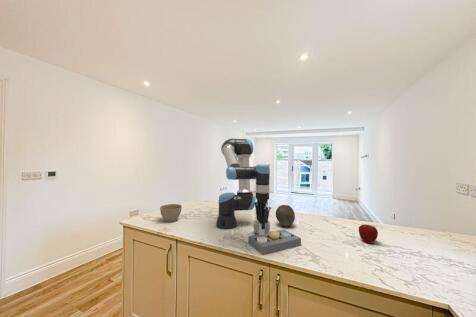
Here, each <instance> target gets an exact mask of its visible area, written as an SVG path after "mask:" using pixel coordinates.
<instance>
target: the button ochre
mask: <svg viewBox="0 0 476 317" xmlns="http://www.w3.org/2000/svg"><path fill="white" fill-rule="evenodd" d="M277 231H278V230H271V231H270V230H269V232H270V239H271V240H273V241H274V240H279V232H277Z"/></svg>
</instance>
